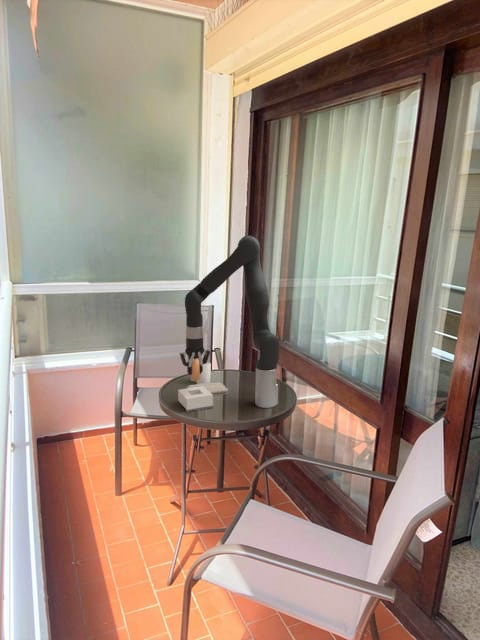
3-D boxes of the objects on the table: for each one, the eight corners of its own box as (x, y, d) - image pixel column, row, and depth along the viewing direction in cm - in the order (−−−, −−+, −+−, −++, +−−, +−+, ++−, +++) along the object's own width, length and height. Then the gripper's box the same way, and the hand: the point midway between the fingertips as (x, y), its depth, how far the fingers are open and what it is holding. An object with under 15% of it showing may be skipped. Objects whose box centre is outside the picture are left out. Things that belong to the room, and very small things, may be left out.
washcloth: (229, 394, 230) (229, 388, 229) (193, 399, 223) (193, 393, 223) (221, 386, 240) (221, 380, 240) (186, 390, 234) (186, 384, 233)
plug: (197, 377, 216) (197, 356, 213) (200, 380, 212) (200, 358, 210) (189, 378, 214) (189, 357, 212) (192, 381, 210) (192, 359, 208)
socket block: (203, 398, 224) (203, 385, 222) (212, 407, 213) (212, 394, 212) (178, 402, 219) (178, 389, 217) (187, 412, 208) (186, 399, 207)
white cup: (193, 381, 246) (193, 362, 243) (208, 379, 248) (208, 361, 246) (198, 386, 238) (197, 367, 236) (213, 384, 241) (213, 365, 239)
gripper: (206, 332, 215) (206, 369, 219) (176, 335, 209) (176, 373, 213) (213, 336, 208) (213, 374, 212) (181, 339, 202) (182, 378, 206)
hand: (194, 373), depth 212 cm, fingers closed on plug, 4 cm apart
